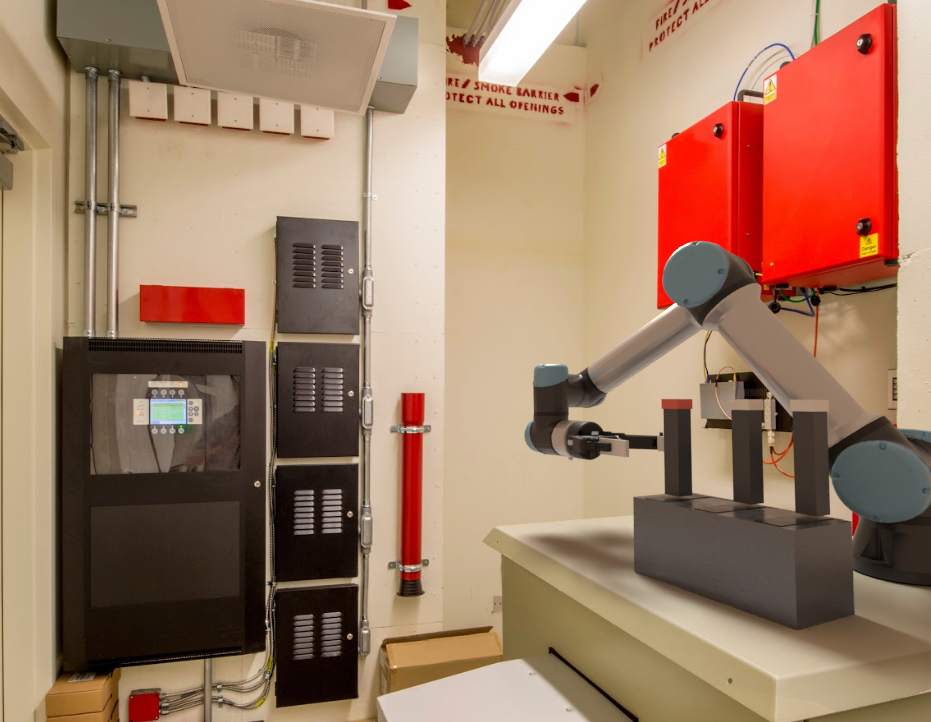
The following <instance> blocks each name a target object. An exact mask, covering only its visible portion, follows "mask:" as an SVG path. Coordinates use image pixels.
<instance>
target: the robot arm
mask: <svg viewBox="0 0 931 722" xmlns="http://www.w3.org/2000/svg"><path fill="white" fill-rule="evenodd" d="M661 279H662V287H663V290H664V292H665V294H666V296H667V297H668V298H669V299H670V300H671V301H672V302H673V304H672V305H671V306H669V307H668V308H666V309H665V310H663V311H662V312H661V313H659V314H658V315H657V316H655V317H654V318H652V319H651V320H650V321H648V322H647V323H646V324H645V325H643V326H642V327H640V328H639V329H637V330H636V331H634V332H633V333H632V334H630V335H629V336H628V337H627V338H625V339H624V340H622V341H621V342H620V343H618V344H617V345H616V346H614V347H613V348H611V349H610V350H609V351H607V352H606V353H605V354H603V355H602V356H601V357H599V358H598V359H596V360H595V361H593V362H592V363H591V364H589V366H587V367H586V368H584V369H583V370H582V371H580V372H578V373H577V374H573V373H571V374H570V372H569V367H568V366H567V365H566V364H561V363H545V364H544V363H541V364H537V365H536V366H535V367H534V369H533V381H532V387H533V391H532V392H533V399H532V400H533V419H532V420H531V421H529V422H528V424H527V425H526V427H525V429H524V441H525V443H526V446H528V447H529V449H530V450H532V451H534V452H536V453H540V454H543V455H552V456H560V457H568V458H567V459H568V460H569V461H573V459H574V458H575V459H580V460H586V461H587V460H588V461H592V460H596V459H597V458H599V457H600V456H601V455H607V456H614V457H619V458H620V457H621V458H629V457H630V450H653V451H654V450H657V452H663V453H664V431H663V432H662V431H660V432H659V433H658V435H648V434H647V435H646V434H626V433H625V432H613V431H610V430H609V431H608V430H603V427H602V426H601V425H599V424H598V423H597V422H594V421H589V420H588V421H586V420H575V419H569V415H570V414H569V413H570V411H569V410H570V408H584V409H588V408H589V409H590V408H591V409H592V408H594V407H598V406H600V405H601V404H602V403H603V402H604V401H605V399H606V397H607V395H608V394H609V393H610V392H612V391H614V390H615V389H616V388H617V387H619V386H621V385H623V384H624V383H625V382H627V381H628V380H629V379H631V378H633V377H634V376H635V375H637V374H638V373H640V372H641V371H643V370H644V369H646V368H648V367H649V366H650V365H652V364H653V363H655V362H656V361H658V360H659V359H661V358H662V357H664V356H666V355H667V354H668V353H670V352H671V351H673V350H674V349H676V348H678V346H680V345H681V344H683V343H684V342H686V341H687V340H689V339H690V338H692V337H693V336H695V335H696V334H698V333H699V332H701V331H702V330H703V331H708V332H709V331H711V332H713V331H714V332H718V334H719V335H720V336H721V337H722V338H723V339H724V341H725V342H726V343H727V344H728V345H729V346H730V347H731V348H732V349H733V351H734V352H735V353H736V354H737V356H738V357H740V359H741V360H742V361H743V362H744V364H745V365H746V366H747V367H748V368H749V369H750V370H751V372H752V373H753V374H754V375H755V376H756V378H757V379H759V381H760V382H761V383H762V384H763V385H764V387H765V388H767V390H768V391H769V392H770V393H771V395H772V396H773V397H774V398H775V399H776V400H777V402H778V403H779V404H780V405H781V406H782V407H783V408H784V410H785V411H786V412H787V413H788V414H789V416H790V417H792V419H793V414H792V411H790V400H829V411H827V431H828V461H829V479H831V484H832V486H833V489H834V492H835V493H836V495H837V497H838V499H839V500H840V502H841V503H842V504H843V505H844V506H845V507H846V508H847V509H848V510H849V511H851V512H852V513H854V514H856V515H857V516H858V523H857V525H856V528H855V531H854V534H853V535H852V551H853V571H856V572H858V573H862V574H864V575H867V576H871V577H874V578H879V579H882V580H887V581H891V582H892V581H893V582H897V583H904V584H905V583H906V584H912V585H920V586H921V585H922V586H923V585H924V586H931V431H930V430H925V429H923V430H922V429H916V428H914V429H913V428H900V427H899V428H897V427H896V426H895V425H894V424H893V423H892V422H891V421H890V420H889V418H888V417H887V416H886V415H885V414H884V413H878V412H871V411H870V412H868V411H867V410H865V408H863V407H862V406H861V405H860V404H859V403H858V401H856V399H854V397H852V395H851V394H850V393H849V392H848V391H847V390H846V389H845V388H844V387H843V386H842V385H841V383H839V381H837V380H836V378H835V377H834V376H833V375H832V374H831V372H829V371H828V369H827V368H825V366H823V364H822V363H820V361H819V360H818V359H817V358H816V357H815V356H814V355H813V354H812V353H811V352H810V350H809V349H807V347H806V346H805V345H804V344H803V343H802V342H801V341H800V340H799V339H798V338H797V337H796V336H795V335H794V334H793V332H791V330H790V329H789V328H788V327H787V326H786V324H784V323H783V322H782V321H781V320H780V319H779V318H778V316H776V315H775V313H774V312H773V311H772V310H771V308H769V307H768V306H767V305H766V303H765V302H763V301H762V300H761V293H762V285H760V284H759V282H758V281H757V280H756V278H755V274H754V270H753V269H752V267H751V266H750V264H749V263H748V262H747V261H746V260H745V259H744V258H742V257H741V256H738V255H736V254H735V253H732V252H730V251H728V250H727V249H725V248H723V247H722V246H721V245H720V244H717V243H715V242H710V241H704V240H696V241H691V242H688V243H686V244H684V245H682V246H680V247H678V249H676V250H675V251H673V253H672V254H671V255H670V256H669V258H668V259H667V261H666V262H665V265H664V268H663V273H662V278H661ZM528 447H527V448H528Z"/></svg>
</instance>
